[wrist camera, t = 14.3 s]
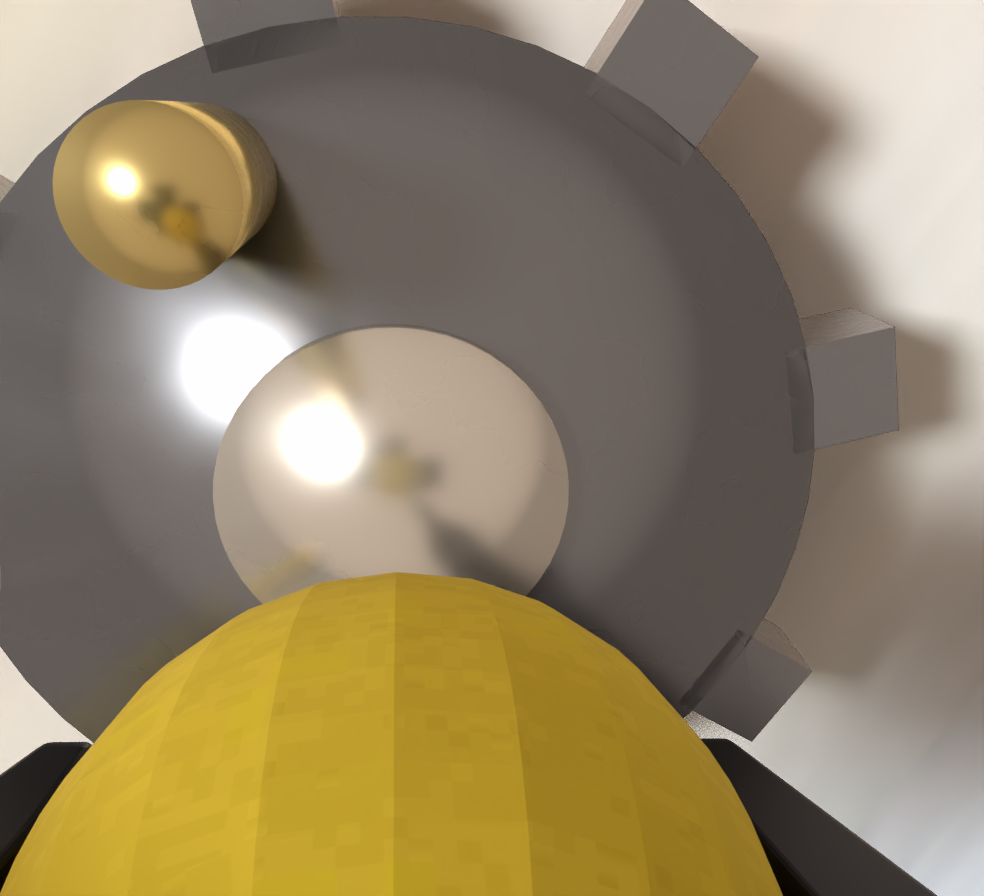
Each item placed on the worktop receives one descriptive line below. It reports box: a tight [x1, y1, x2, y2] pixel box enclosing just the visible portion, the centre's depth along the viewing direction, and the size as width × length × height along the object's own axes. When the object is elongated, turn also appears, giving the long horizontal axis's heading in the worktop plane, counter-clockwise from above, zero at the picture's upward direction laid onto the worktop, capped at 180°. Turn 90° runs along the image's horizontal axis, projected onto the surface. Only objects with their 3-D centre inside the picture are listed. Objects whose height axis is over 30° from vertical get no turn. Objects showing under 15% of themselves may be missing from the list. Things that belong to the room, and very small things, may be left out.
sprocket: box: [0, 0, 899, 743], centre depth 14 cm, size 17×17×4 cm
